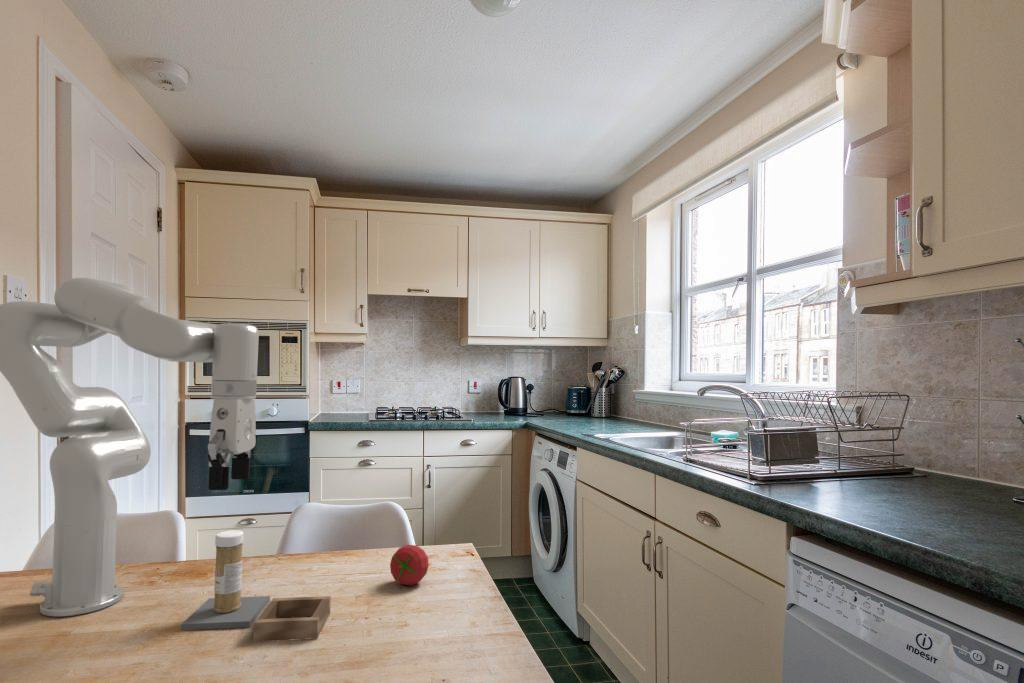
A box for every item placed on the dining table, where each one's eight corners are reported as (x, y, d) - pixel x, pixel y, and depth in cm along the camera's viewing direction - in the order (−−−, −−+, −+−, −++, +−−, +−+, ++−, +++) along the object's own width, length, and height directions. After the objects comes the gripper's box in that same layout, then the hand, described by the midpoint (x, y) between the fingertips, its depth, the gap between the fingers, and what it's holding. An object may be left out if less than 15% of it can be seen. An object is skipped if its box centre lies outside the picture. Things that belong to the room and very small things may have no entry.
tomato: (416, 535, 123) (400, 538, 116) (441, 561, 120) (425, 566, 113) (392, 563, 123) (375, 568, 116) (416, 591, 120) (399, 597, 113)
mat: (181, 630, 96) (181, 624, 97) (208, 603, 107) (209, 598, 107) (249, 627, 98) (249, 621, 98) (269, 601, 109) (269, 596, 109)
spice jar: (210, 608, 103) (213, 532, 104) (238, 601, 106) (240, 527, 107) (216, 616, 99) (218, 537, 100) (244, 609, 102) (246, 533, 103)
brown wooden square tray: (253, 641, 92) (254, 622, 93) (272, 615, 102) (273, 598, 102) (317, 638, 93) (317, 619, 94) (330, 613, 103) (330, 596, 104)
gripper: (236, 392, 97) (232, 494, 97) (270, 389, 115) (267, 475, 114) (190, 391, 97) (185, 494, 96) (231, 388, 114) (227, 475, 113)
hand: (229, 484), depth 105 cm, fingers open, 9 cm apart
